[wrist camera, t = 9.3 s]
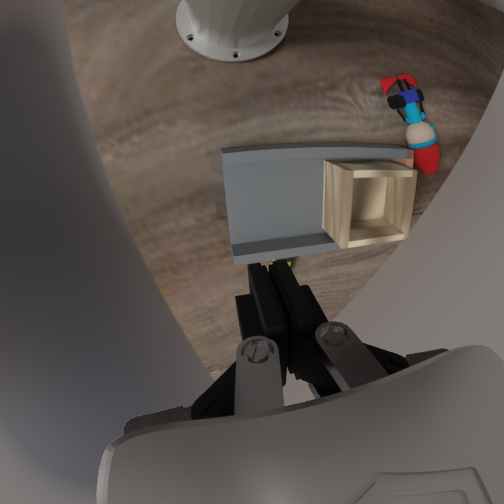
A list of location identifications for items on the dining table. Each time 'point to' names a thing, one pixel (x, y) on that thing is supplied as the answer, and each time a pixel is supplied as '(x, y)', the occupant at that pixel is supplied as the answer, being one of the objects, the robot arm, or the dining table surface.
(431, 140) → the toy figure
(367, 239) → the crate
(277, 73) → the dining table surface
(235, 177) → the rail bay
